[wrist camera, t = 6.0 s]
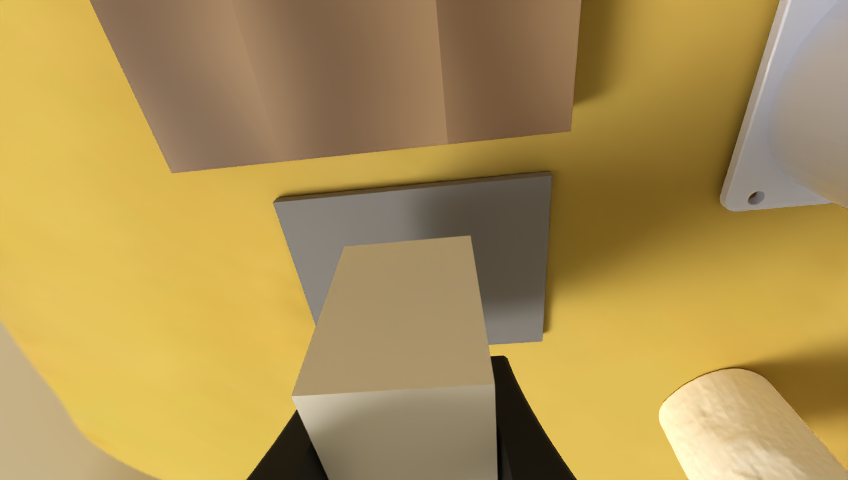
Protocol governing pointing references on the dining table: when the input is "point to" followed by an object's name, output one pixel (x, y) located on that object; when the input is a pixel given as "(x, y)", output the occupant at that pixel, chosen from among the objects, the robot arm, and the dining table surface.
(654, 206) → the dining table surface
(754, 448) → the roll
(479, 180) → the mat
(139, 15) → the block
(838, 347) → the dining table surface
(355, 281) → the plug
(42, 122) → the dining table surface
